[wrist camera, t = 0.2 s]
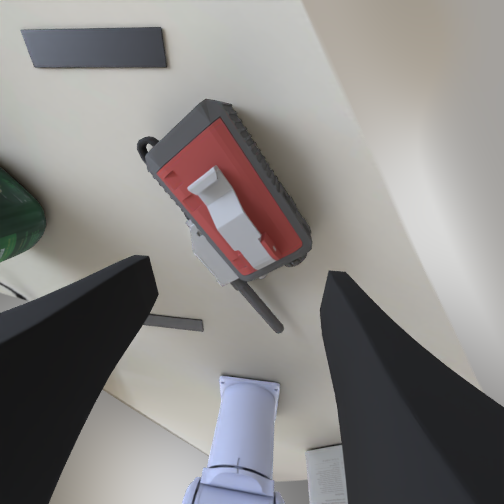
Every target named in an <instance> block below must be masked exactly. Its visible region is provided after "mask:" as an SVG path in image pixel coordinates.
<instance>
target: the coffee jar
mask: <svg viewBox="0 0 504 504" xmlns="http://www.w3.org/2000/svg"><path fill="white" fill-rule="evenodd" d="M45 228H46V220H45V215H44V211H43V208H42V207H41V205H40V204H39V203H38V201H37V200H36V199H35V198H34V197H33V196H32V195H31V194H30V193H29V192H28V191H27V190H26V189H24V188H23V187H22V186H21V185H20V184H19V183H18V182H17V181H16V180H15V179H14V178H12V177H11V176H10V175H9V174H8V173H7V172H6V171H4V170H3V169H2V168H1V167H0V262H2V261H4V260H7V259H9V258H12V257H14V256H16V255H18V254H20V253H22V252H25V251H26V250H28V249H30V248H32V247H33V246H34V245H35V244H36V243H37V242H38V241H39V239H40V238H41V237H42V235H43V233H44V231H45Z"/></svg>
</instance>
